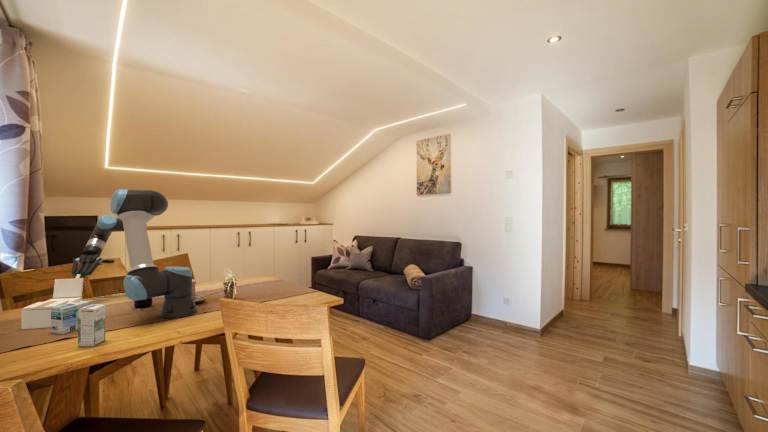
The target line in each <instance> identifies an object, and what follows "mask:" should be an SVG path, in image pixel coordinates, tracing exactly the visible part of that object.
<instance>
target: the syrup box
mask: <svg viewBox="0 0 768 432" xmlns="http://www.w3.org/2000/svg"><path fill="white" fill-rule="evenodd" d="M106 311H107V309H106V304H100V303H99V304H97V303H95V304H94V303H93V304H90V305H89V306H86V307H83V308H81V309H79V310H78V332H77V334H78V335H77V347H95V346H97V345H99V344H101V343H103V342H104V341H106V317H107V316H106V314H107V313H106Z"/></svg>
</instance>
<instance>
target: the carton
mask: <svg viewBox="0 0 768 432" xmlns="http://www.w3.org/2000/svg"><path fill="white" fill-rule="evenodd" d="M75 301H83V296H81V297H61V298H50V299H48V300H45V301H37V302H34V303H32V304H30V305H27V306H25V307H22V309H21V311H20V313H21V314H20V315H21V318H20V319H21V321H20V322H21V323H20V324H21V330H32V329H46V328H51V307H55V306H59V305H63V304H67V303H71V302H75Z"/></svg>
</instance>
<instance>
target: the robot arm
mask: <svg viewBox="0 0 768 432" xmlns="http://www.w3.org/2000/svg"><path fill="white" fill-rule="evenodd" d="M168 208H169V202H168V199H167V197H166V196H165V195H164V194H163V193H161V192H159V191H156V190H151V189H150V190H148V189H147V190H146V189H128V188H125V189H121V188H119V189H116V190H115V191H114V192H113V194H112V195H111V201H110V212H111V213H112V214H114V215H116V216H117V217H115V216H114V215H111V214H104V215H102V216H100V217H99V219H98V220H97V222H96V225H95V227H94V229H93V232H92V234H91V235H90V237H89V239H88V241H87V242H86V245H85V247H84V248H83V250H82V252H81V255H79V257H77V258H72V266H71V272H70V273H71V275H73V278H84V279H85V277H86V276H91V275H92V274H93V273H94V271H95V270H96V269H97V268H98V267H99V265H100V264H102V263H103V262H104V259H103V258H102V257H100V256H101V255H102V253H103V250H104V248H105V247H106V244H107V242H108V241H109V238H110V236H111V235H112V233H113V232H117V233H119V232H124V237H125V244H126V250H127V254H128V260H129V261H128V262H129V266H130V269H129V270H128V271H127V272H126V274H127V275H126V276H125V277H124V278H123V281H122V282H123V289H124V292H125V293H124V294H125V295H126V296H127V298H128V299H130V301H135V302H137V301H145V300H147V299H148V300H149V299H153V298H159V297H162V296H163V297H164V300H163V303H162V305H161V308H160V311H159V317H160V318H162V319H179V318H183V317H189V316H191V315H193V314H195V313H196V312H197V306H196V303H195V301H194V298H193V277H194V276H193V271H192V268H190V267H188V266H187V267H186V266H175V265H173V266H165V267H164V268H163V270H160V269H159V266H158V265H155V264H154V260H153V255H152V250H151V245H150V244H151V243H150V239H149V234H148V228H147V223H148V222H150V221H151V220H153V219H154V218H155V217H156V216H161V215H163V214H164V213H165V212H166V211H167V210H168ZM145 247H146V248H145ZM79 263H80V264H79Z"/></svg>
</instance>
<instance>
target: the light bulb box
mask: <svg viewBox="0 0 768 432" xmlns="http://www.w3.org/2000/svg"><path fill="white" fill-rule="evenodd" d="M89 305H91V302H90V301H85V300H82V301H75V302H71V303H67V304H63V305H59V306H55V307H51V327H50V332H51V333H53V334H58V335H59V334H60V335H64V334H68V333H71V332H74V331H77V330H78V310H79V309H81V308H83V307H86V306H89Z"/></svg>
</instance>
